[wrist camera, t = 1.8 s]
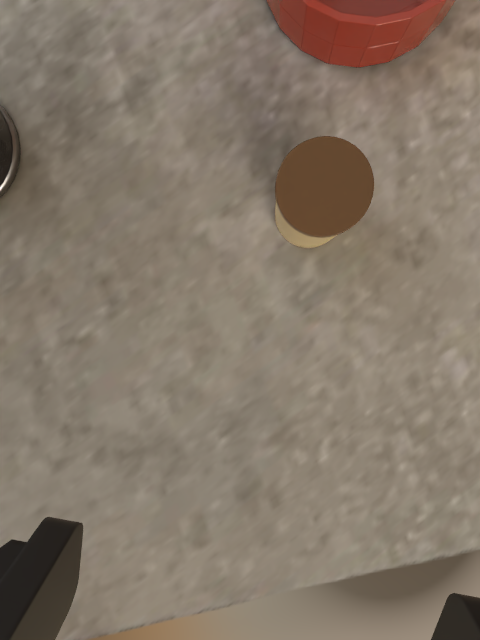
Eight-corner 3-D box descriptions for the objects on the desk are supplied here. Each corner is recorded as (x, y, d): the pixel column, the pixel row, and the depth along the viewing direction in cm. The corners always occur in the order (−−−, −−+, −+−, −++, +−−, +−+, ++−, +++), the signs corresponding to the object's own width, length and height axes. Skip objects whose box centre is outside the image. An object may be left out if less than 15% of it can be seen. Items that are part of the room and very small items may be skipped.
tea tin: (261, 229, 32) (258, 208, 23) (294, 166, 31) (304, 118, 22) (322, 261, 31) (343, 253, 22) (356, 198, 31) (392, 163, 22)
